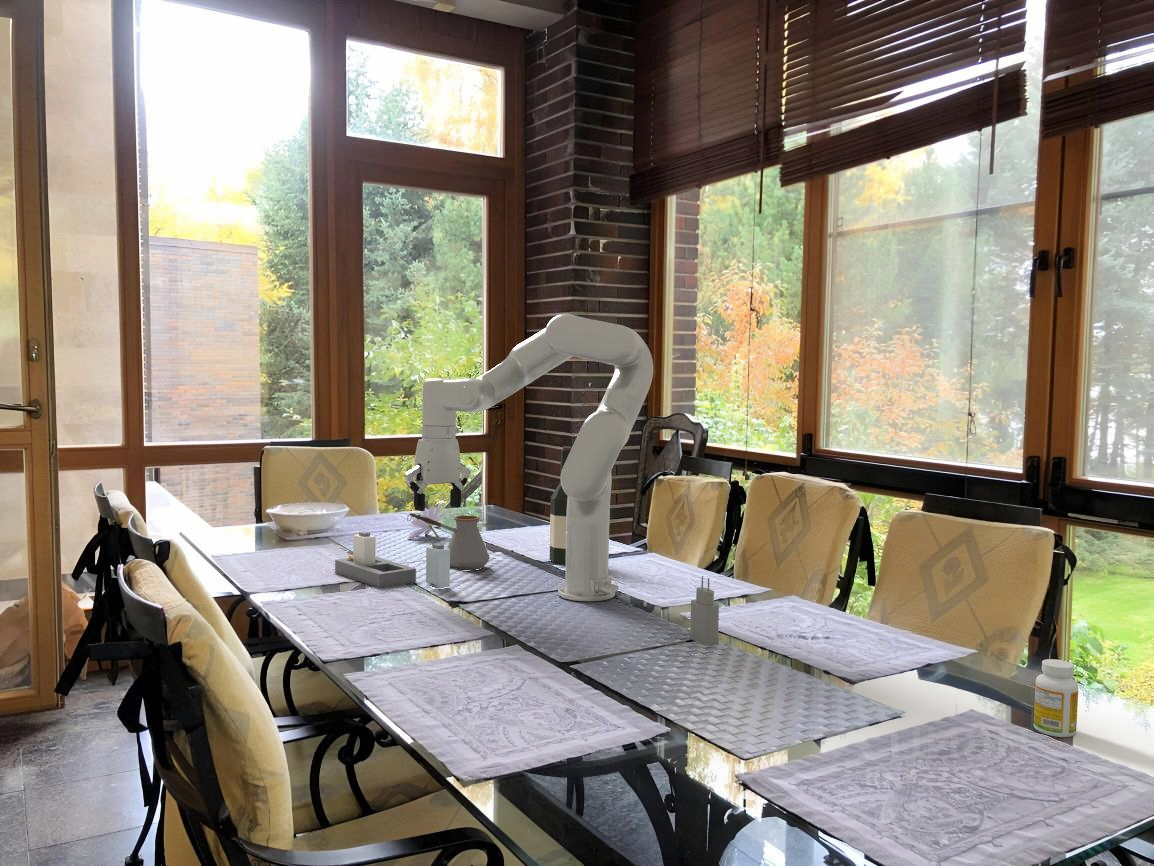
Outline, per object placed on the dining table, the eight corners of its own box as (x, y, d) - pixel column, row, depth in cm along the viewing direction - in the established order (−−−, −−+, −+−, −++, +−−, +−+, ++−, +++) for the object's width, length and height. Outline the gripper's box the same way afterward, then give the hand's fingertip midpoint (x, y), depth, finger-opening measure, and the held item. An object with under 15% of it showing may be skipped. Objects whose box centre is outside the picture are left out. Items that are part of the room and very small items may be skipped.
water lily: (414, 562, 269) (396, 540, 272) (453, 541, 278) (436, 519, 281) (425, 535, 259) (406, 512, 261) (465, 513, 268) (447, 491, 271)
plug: (449, 588, 209) (450, 545, 208) (438, 590, 207) (438, 547, 206) (437, 584, 212) (437, 542, 212) (426, 586, 210) (426, 543, 210)
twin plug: (375, 574, 217) (375, 533, 216) (364, 576, 215) (364, 534, 214) (364, 570, 221) (364, 530, 220) (353, 572, 219) (353, 531, 218)
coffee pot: (476, 562, 238) (477, 504, 237) (497, 570, 228) (498, 510, 227) (398, 570, 226) (398, 510, 225) (416, 579, 217) (417, 516, 216)
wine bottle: (581, 565, 236) (583, 448, 234) (548, 564, 236) (550, 447, 234) (581, 558, 244) (583, 446, 243) (550, 557, 245) (552, 445, 243)
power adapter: (706, 645, 168) (708, 580, 167) (688, 638, 173) (689, 574, 172) (719, 643, 169) (721, 579, 169) (701, 635, 174) (703, 573, 173)
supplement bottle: (1062, 723, 133) (1066, 657, 132) (1084, 738, 127) (1088, 669, 127) (1025, 723, 133) (1029, 657, 132) (1046, 738, 127) (1049, 669, 127)
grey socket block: (415, 585, 210) (416, 566, 210) (379, 592, 204) (379, 571, 204) (370, 571, 225) (370, 552, 225) (335, 576, 218) (335, 557, 218)
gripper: (460, 431, 216) (459, 503, 217) (396, 433, 204) (395, 509, 205) (479, 433, 211) (478, 507, 212) (415, 435, 199) (414, 514, 200)
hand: (437, 508), depth 208 cm, fingers open, 9 cm apart
